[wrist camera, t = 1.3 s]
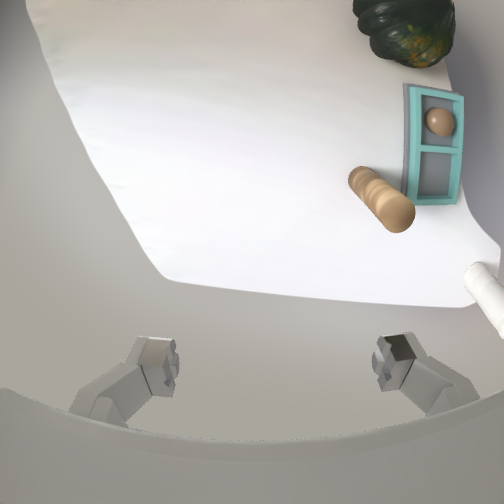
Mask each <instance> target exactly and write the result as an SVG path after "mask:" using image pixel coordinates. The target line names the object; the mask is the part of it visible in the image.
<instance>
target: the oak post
mask: <svg viewBox="0 0 504 504" xmlns="http://www.w3.org/2000/svg"><path fill="white" fill-rule="evenodd" d="M348 183H349V186H350V188H351V189H352V190H353V191H354V193H355V194H356V195H357V196H358V197H359V198H360V199H361V200H362V201H363V202H364V204H365V205H366V206H367V207H368V208H369V209H370V210H371V211H372V213H373V214H374V215H375V216H376V217H377V218H378V220H379V221H380V222H381V223H382V224H383V225H384V227H385V228H386V229H387V230H388V231H390V232H393V233H400V232H403V231H405V230H406V229H408V228H409V227H410V226H411V224H412V223H413V221H414V218H415V207H414V204H413V203H412V202H411V201H410V200H409V199H408V198H407V197H406V196H404V195H403V194H402V193H401V192H399V191H398V190H397V189H395V188H394V187H393V186H392V185H390V184H389V183H388V182H386V181H385V180H384V179H383V178H381V177H380V176H379V175H377V174H376V173H374V172H373V171H372V170H370V169H369V168H367V167H364V166H360V167H357V168H355V169H353V170H352V172H351V173H350V175H349V178H348Z"/></svg>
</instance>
